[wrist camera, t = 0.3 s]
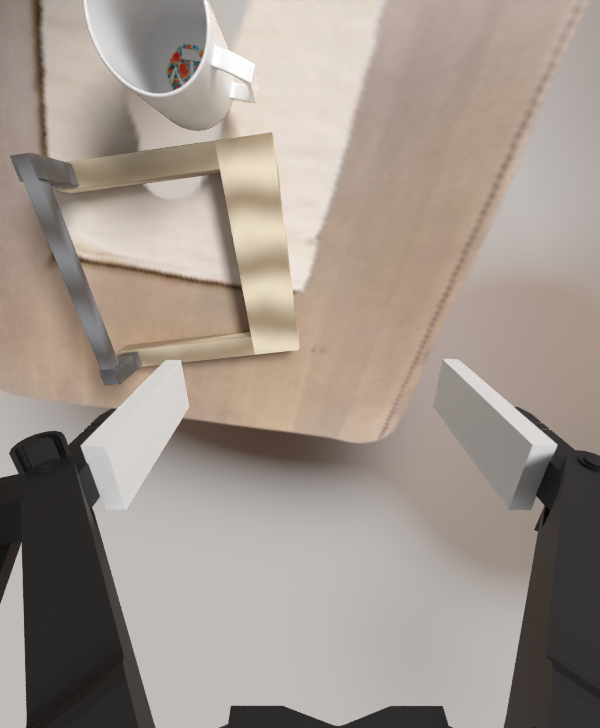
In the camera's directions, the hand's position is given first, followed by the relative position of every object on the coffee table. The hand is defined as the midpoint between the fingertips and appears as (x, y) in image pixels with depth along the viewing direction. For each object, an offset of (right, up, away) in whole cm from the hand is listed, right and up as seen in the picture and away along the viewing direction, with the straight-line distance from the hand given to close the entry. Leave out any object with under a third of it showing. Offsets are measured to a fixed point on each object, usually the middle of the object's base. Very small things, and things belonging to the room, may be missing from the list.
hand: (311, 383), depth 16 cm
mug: (-10, +30, +17) cm, 36 cm away
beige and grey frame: (-14, +14, +24) cm, 31 cm away
